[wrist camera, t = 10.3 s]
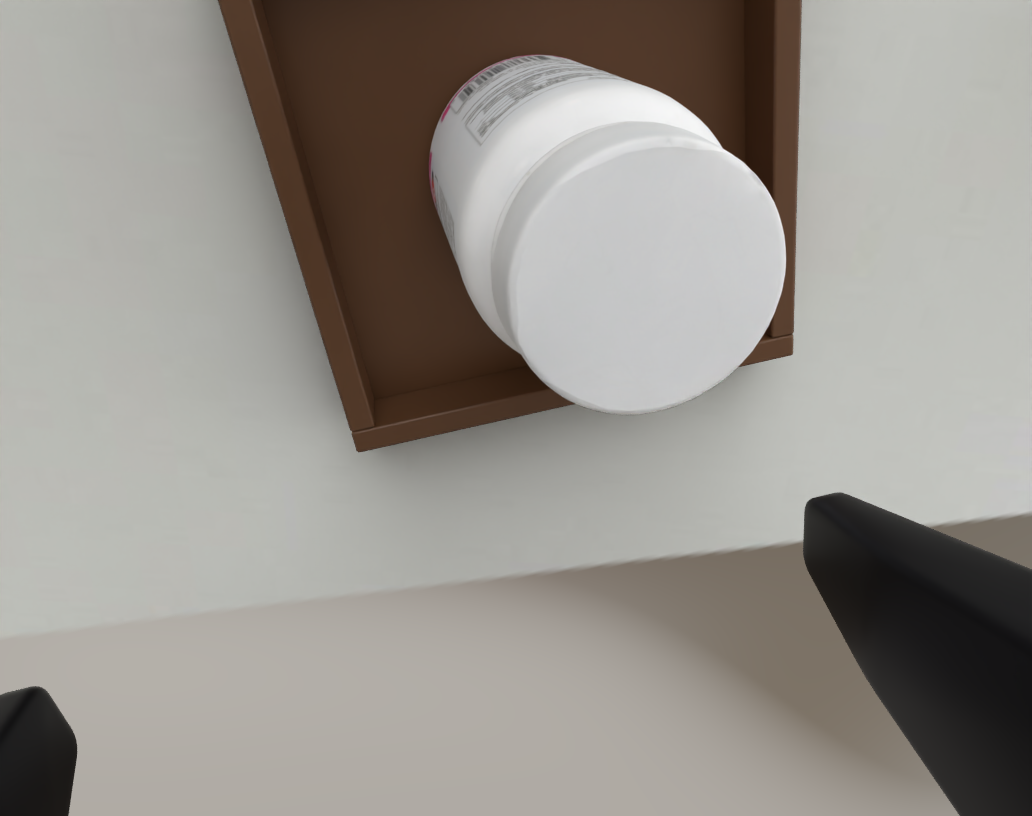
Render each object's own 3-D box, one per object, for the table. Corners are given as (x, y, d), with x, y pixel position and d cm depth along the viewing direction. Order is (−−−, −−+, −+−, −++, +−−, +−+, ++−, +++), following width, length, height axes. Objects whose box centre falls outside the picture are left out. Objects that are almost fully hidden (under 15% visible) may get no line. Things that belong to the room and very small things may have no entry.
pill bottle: (590, 286, 20) (726, 467, 12) (404, 238, 18) (433, 409, 11) (663, 91, 18) (876, 168, 10) (460, 20, 16) (542, 51, 9)
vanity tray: (761, 327, 21) (793, 355, 20) (357, 416, 21) (357, 454, 19) (761, -172, 16) (807, -190, 14) (209, -77, 15) (191, -84, 13)
